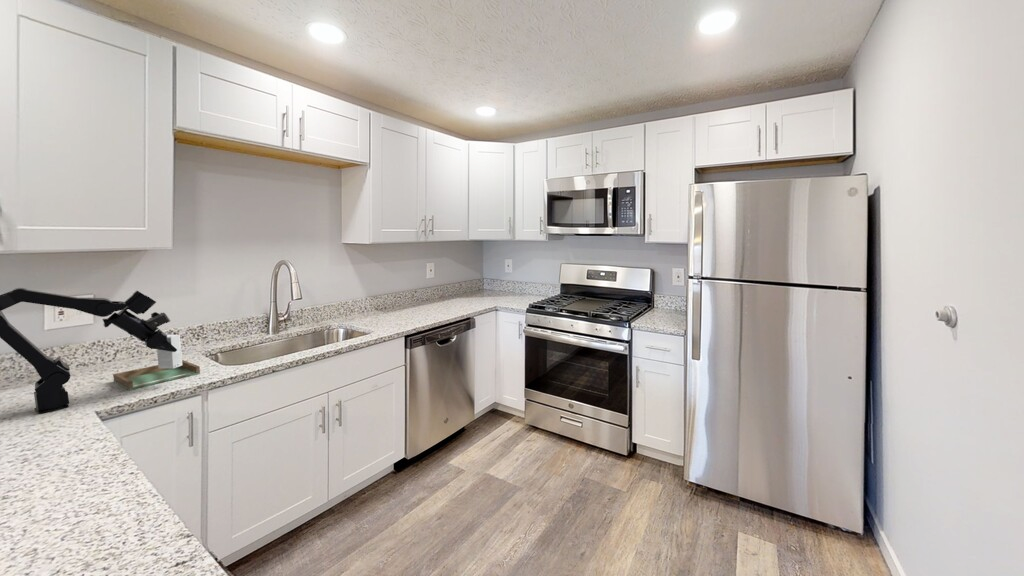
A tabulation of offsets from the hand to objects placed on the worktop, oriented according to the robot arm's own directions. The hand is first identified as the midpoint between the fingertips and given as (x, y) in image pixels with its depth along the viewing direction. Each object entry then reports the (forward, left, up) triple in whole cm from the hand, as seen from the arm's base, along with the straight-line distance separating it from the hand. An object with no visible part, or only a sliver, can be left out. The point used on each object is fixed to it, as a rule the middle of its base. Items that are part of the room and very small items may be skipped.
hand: (173, 349), depth 155 cm
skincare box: (-1, 0, -7) cm, 7 cm away
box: (-1, +13, -13) cm, 19 cm away
